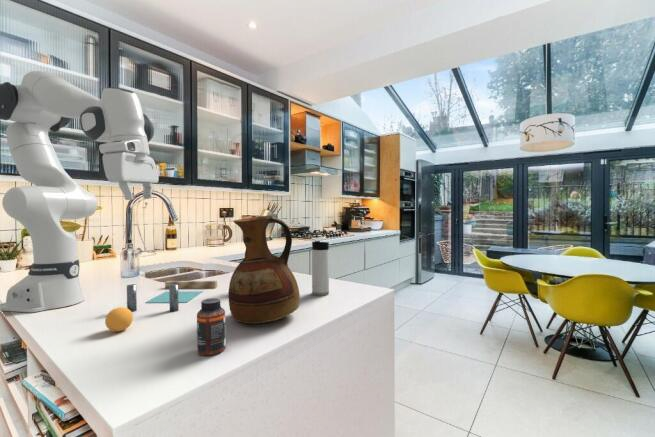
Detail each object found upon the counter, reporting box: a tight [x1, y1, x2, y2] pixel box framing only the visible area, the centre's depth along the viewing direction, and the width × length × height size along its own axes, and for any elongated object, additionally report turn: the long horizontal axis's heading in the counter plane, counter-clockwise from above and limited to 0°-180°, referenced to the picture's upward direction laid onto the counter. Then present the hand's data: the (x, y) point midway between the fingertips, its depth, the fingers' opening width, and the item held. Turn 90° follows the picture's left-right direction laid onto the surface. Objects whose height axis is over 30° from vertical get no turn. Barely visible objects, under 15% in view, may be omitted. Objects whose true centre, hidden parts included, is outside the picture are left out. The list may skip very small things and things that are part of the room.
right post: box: [168, 284, 180, 313], centre depth 97 cm, size 2×2×8 cm
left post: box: [126, 283, 138, 313], centre depth 96 cm, size 2×2×8 cm
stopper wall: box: [164, 280, 218, 289], centre depth 125 cm, size 20×2×2 cm, turn 91°
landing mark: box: [144, 290, 203, 304], centre depth 112 cm, size 14×14×1 cm
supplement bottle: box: [196, 297, 227, 356], centre depth 69 cm, size 6×6×11 cm
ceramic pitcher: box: [227, 214, 301, 324], centre depth 90 cm, size 20×20×30 cm
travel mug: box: [311, 240, 330, 297], centre depth 115 cm, size 6×7×20 cm
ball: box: [104, 306, 134, 333], centre depth 81 cm, size 6×6×6 cm
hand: (139, 199), depth 86 cm, fingers open, 8 cm apart
